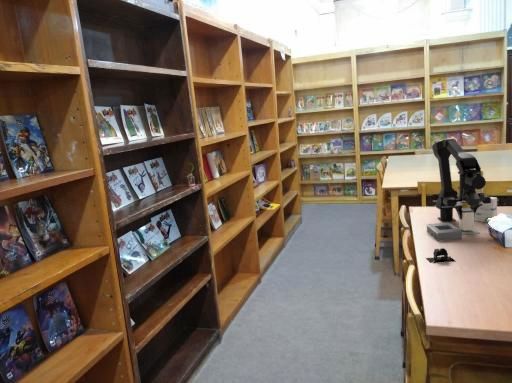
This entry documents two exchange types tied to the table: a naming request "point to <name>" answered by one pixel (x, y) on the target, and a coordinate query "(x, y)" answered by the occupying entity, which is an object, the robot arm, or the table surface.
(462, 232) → the mat
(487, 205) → the ink box
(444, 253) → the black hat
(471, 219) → the plug
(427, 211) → the table surface
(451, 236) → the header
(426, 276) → the table surface
